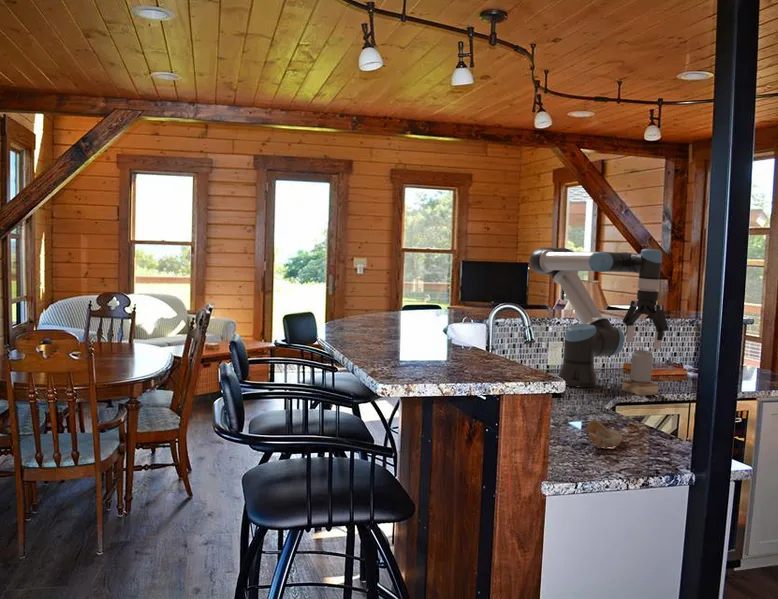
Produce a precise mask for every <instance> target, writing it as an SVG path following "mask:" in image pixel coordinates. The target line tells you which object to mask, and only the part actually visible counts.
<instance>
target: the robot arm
mask: <svg viewBox="0 0 778 599" xmlns="http://www.w3.org/2000/svg"><path fill="white" fill-rule="evenodd" d="M662 257H663V252H662V251H661V249H651V248H650V249H649V248H643V249H641V251H640V253H635V252H627V251H626V252H625V251H622V252H621V251H620V252H617V251H616V252H615V251H613V252H612V251H574V250H572V249H570V248H566V247H538V248H536V249H534V250H533V251H532V252H531V253H530V256H529V259H528V263H529V266H530V269H531V270H532V271H533V272H535V273H536V274H539V275H550V277H551V278H552V281H553V282H554V283H555V284H559V286H560V287H561V288H562V291H563V292H564V294H565V296H566V297H567V300H568V302H569V303H570V305H571V306H572V309H573V310H574V312H575V314H576V316H577V317H578V319H579V321H580V324H578V323H577V324H570V325H569V326H567V328H565V333H564V343H563V345H564V346H563V361H562V365H561V368H560V371H559V374H558V375H557V377H558V376H559V377H561V378H563V379H564V380H565V381H566V383H567V384H568V386H567V387H573V386H580V387H579V388H594V387H596V386H597V382H598V380H597V376H596V371H595V368H594V361H595V358H597V357H611V356H615V355H619V354H620V352H621V351H623V348H624V346H625V345H624V343H633V342H634V332H635V323H636V321H637V320H638V319H639V318H640V317H641V316H642V315H645V316H648V317H650V319H651V321H652V323H653V325H654V327H655V329H656V330H655V331H654V339H653V340H654V341H653V349H655V350H660V349H661V346H662V341H663V339H664V332H666V331H667V332H668V331H669V326H668V323H667V319H666V314H665V311H664V305H663V304H657V301H658V300H659V294H660V293H659V290H660V281H661V270H662V263H663V258H662ZM579 272H597V273H598V272H599V273H613V272H614V273H632V274H633V273H634V274H638V283H637V289H638V290H637V293H636V299H637V300H631V301H630V305H629V308H628V310H627V312H626V313H625V316H624V318H623V319H622V323H623V324H625V325H626V328H625V330H626V331H625V332H626V340H625V335H624V333H623V330H622V329H621V328H619V327H617V326H613V325H612V323H611V322H610V319H608V318H607V317H603V315H602V313H601V312H600V310H599V309H598V306H597V305H596V303H595V301H594V300H593V297H592V296H591V295H590V293H589V291H588V289H587V288H586V286H585V284H584V283H583V281H582V279H581V278H580V276H579ZM569 385H570V386H569Z"/></svg>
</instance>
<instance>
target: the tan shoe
mask: <svg viewBox="0 0 778 599" xmlns="http://www.w3.org/2000/svg"><path fill="white" fill-rule="evenodd" d="M585 431H586V432H587V433H589V437H590V438H589V439H590V441H591V443H592V444H593V443H594V444H596V446H595V447H596V449H598V448H600V447H604V446H607V447H613V446H617V447H618V446H619V445H620V444H621V443H622V440H623V433H624V430H623V429H621V428H610V429H607V428H606V427H605V426H604V425H603V424H602V423H601V422H599V420H597V419H596V418H595V417H594V418H592V419H591V421H590V422H588V424H587V425H586V429H585ZM594 444H593V445H594Z"/></svg>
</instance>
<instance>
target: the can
mask: <svg viewBox="0 0 778 599" xmlns="http://www.w3.org/2000/svg"><path fill="white" fill-rule="evenodd" d="M633 351H634V352H633V353H631V365H630V366H631V367H630V374H629V375H630V377H629V378H630V379H629V380H632V381H633V382H636V383H649V382H652V373H653V360H654V355H652V351H650V350H644V349H635V350H633Z"/></svg>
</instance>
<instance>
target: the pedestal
mask: <svg viewBox="0 0 778 599" xmlns="http://www.w3.org/2000/svg"><path fill="white" fill-rule="evenodd" d="M623 390H626V391H625V392H627V391H628V392H627V393H630V392H631V393H630V394H633V393H635V394H634V395H636V396H641V397H642V396H650V395H651V396H652V395H653V396H654V395H658V394H659V393H658V392H659V383H657V382H655V381H650V382H649V383H636V382H633V381H632V380H631V379H623V381H622V391H623Z"/></svg>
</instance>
